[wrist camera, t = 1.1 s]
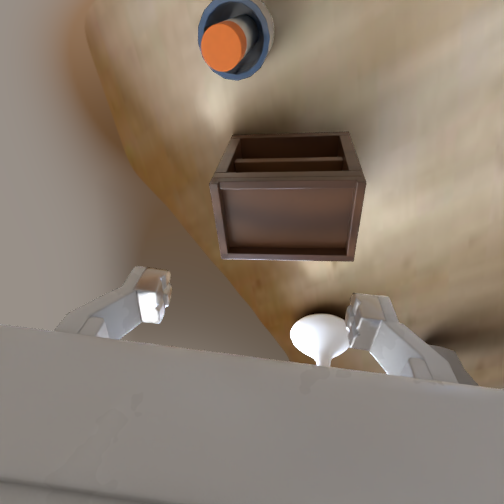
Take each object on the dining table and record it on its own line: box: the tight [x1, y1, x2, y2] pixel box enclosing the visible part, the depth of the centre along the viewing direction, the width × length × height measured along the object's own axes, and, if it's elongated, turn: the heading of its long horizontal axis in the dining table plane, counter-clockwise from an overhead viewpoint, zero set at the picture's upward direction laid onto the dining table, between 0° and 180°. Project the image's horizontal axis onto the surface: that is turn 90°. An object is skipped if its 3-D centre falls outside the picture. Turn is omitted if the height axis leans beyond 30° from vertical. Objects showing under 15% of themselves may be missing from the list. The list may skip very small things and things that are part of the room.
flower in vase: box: [290, 314, 350, 367], centre depth 51 cm, size 13×11×25 cm
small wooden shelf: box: [209, 132, 366, 262], centre depth 37 cm, size 9×14×13 cm, turn 94°
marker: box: [201, 15, 258, 72], centre depth 28 cm, size 3×3×12 cm
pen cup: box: [198, 0, 274, 80], centre depth 31 cm, size 6×6×7 cm
